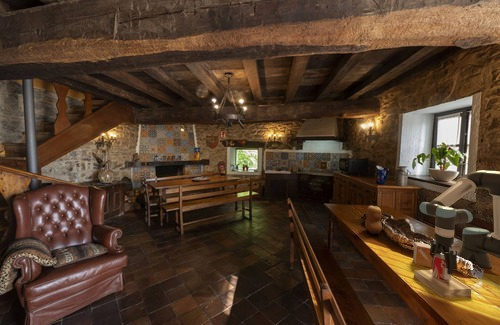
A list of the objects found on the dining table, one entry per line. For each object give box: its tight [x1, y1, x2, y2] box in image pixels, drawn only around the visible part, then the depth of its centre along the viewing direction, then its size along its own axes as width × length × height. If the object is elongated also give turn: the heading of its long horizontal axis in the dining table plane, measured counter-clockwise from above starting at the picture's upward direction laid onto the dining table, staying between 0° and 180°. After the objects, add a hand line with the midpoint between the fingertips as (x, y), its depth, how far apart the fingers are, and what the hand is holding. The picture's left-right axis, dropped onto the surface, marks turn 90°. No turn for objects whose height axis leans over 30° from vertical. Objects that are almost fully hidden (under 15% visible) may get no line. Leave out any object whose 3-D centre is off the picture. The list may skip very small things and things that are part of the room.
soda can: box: [432, 253, 450, 282], centre depth 106 cm, size 7×7×13 cm
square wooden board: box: [413, 269, 472, 298], centre depth 107 cm, size 16×16×4 cm
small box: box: [412, 241, 433, 269], centre depth 128 cm, size 8×6×13 cm
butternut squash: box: [364, 205, 383, 235], centre depth 176 cm, size 14×13×25 cm
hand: (441, 274), depth 107 cm, fingers closed on soda can, 7 cm apart
